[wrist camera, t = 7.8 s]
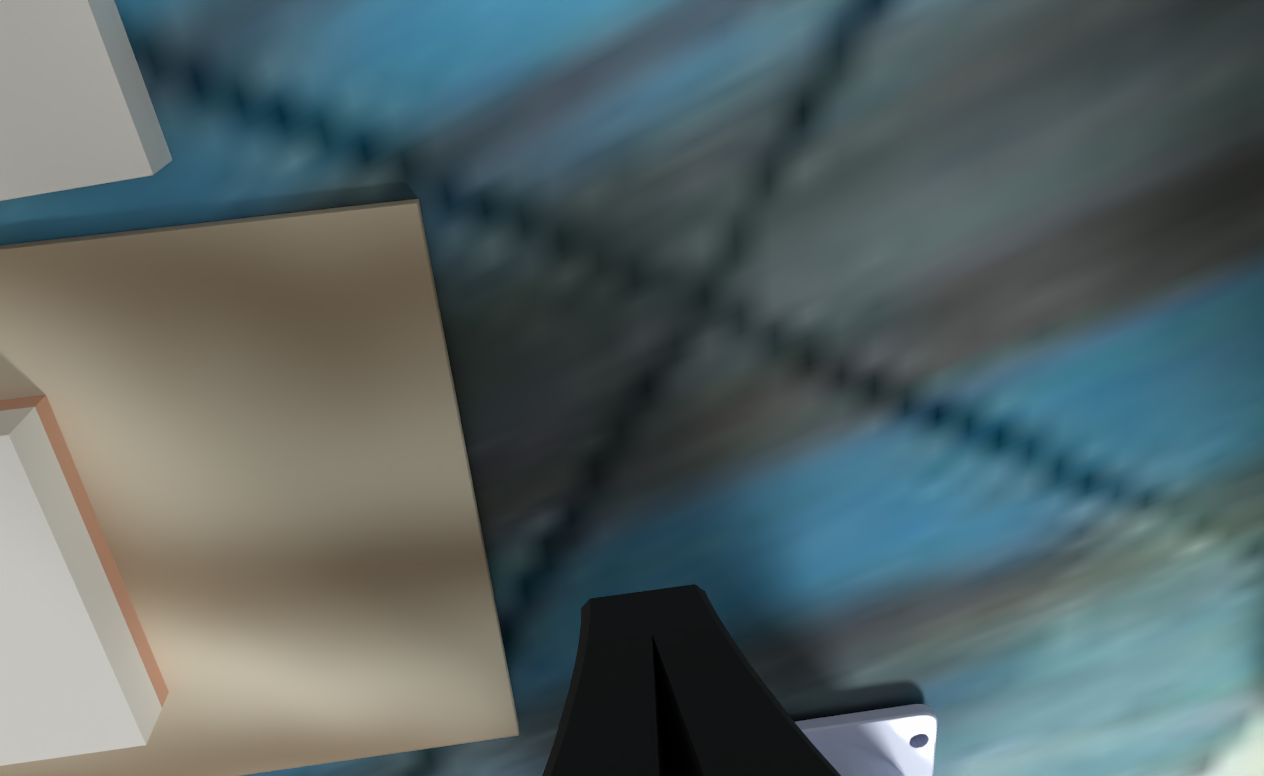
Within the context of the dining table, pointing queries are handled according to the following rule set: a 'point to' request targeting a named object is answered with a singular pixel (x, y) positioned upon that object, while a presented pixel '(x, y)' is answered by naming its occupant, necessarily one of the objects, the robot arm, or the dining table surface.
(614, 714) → the robot arm
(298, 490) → the mat
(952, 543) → the dining table surface
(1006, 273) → the dining table surface
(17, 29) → the flipped tile
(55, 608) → the tile
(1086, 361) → the dining table surface
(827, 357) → the dining table surface
